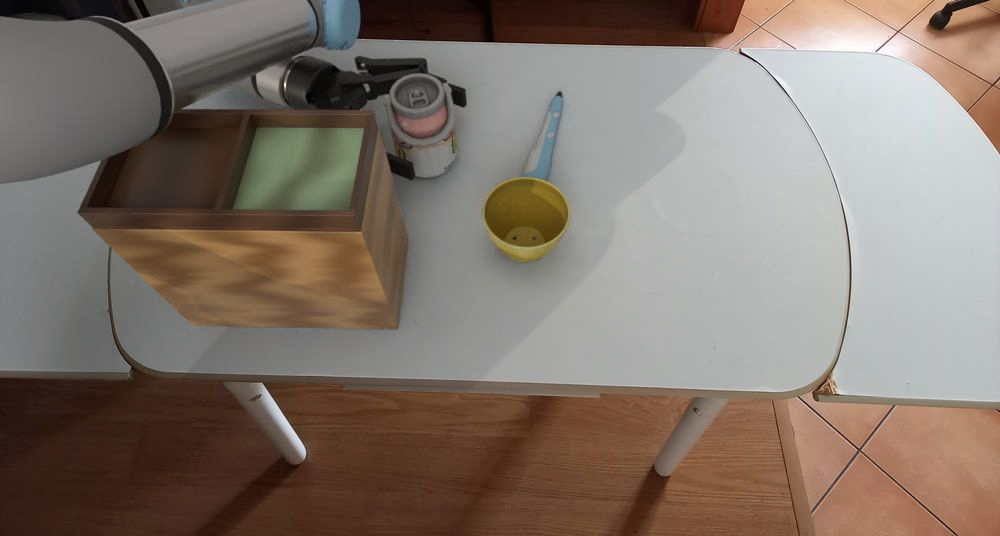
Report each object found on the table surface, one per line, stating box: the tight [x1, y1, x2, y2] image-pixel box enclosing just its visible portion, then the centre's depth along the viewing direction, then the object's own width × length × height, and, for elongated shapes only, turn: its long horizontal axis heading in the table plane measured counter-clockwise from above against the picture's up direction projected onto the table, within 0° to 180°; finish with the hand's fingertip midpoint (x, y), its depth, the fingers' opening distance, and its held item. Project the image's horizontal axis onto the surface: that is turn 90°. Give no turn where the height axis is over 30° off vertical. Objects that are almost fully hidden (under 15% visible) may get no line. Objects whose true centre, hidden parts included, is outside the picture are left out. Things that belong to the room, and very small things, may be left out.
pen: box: [521, 90, 564, 181], centre depth 84 cm, size 19×3×3 cm, turn 166°
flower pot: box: [482, 176, 572, 263], centre depth 73 cm, size 10×10×7 cm
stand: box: [92, 127, 409, 330], centre depth 66 cm, size 24×12×20 cm, turn 89°
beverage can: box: [382, 73, 458, 179], centre depth 78 cm, size 9×8×12 cm
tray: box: [77, 108, 379, 232], centre depth 56 cm, size 24×12×2 cm, turn 89°
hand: (440, 133), depth 77 cm, fingers open, 13 cm apart
